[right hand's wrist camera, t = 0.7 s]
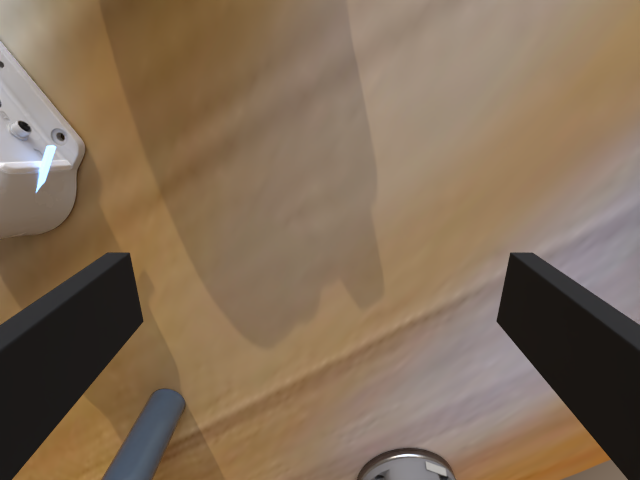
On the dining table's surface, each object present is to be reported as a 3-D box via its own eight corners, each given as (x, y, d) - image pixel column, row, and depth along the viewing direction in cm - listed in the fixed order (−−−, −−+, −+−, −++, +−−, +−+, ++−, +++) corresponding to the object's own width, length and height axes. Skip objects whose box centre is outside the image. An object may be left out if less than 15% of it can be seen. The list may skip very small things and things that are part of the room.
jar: (162, 382, 49) (97, 494, 35) (192, 401, 50) (141, 516, 36) (142, 403, 50) (73, 520, 36) (172, 421, 51) (116, 540, 37)
